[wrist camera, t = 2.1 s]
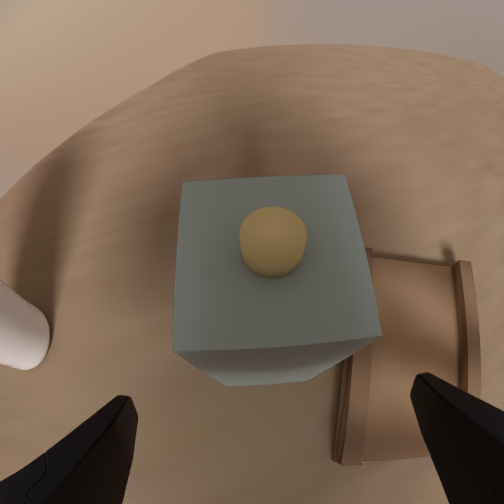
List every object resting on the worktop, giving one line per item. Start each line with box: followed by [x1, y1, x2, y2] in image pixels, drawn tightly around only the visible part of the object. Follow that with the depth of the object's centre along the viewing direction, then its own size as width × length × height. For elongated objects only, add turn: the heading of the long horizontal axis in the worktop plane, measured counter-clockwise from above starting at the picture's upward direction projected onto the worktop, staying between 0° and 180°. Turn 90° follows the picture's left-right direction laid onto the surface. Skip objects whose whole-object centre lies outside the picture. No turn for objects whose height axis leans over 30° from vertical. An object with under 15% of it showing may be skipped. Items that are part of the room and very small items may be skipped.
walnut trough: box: [332, 248, 481, 465], centre depth 18 cm, size 14×10×2 cm
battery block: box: [173, 175, 382, 387], centre depth 14 cm, size 5×5×14 cm
